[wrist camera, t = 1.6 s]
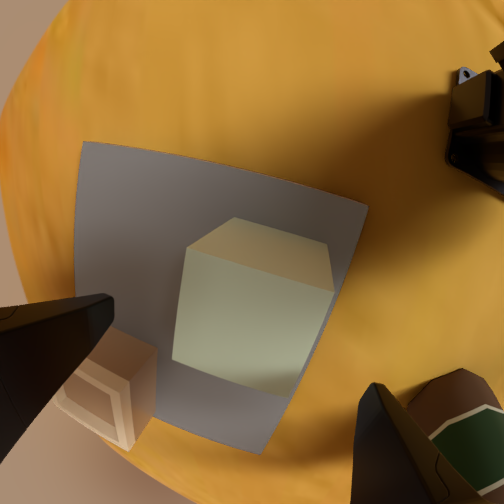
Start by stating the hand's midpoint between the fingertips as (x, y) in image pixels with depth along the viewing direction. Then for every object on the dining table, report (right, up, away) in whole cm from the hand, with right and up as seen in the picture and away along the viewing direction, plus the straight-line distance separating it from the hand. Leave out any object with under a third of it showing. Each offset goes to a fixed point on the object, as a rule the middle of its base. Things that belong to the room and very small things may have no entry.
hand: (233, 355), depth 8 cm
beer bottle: (+16, -9, +8) cm, 20 cm away
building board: (-5, -2, +11) cm, 12 cm away
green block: (+1, +2, +7) cm, 8 cm away
